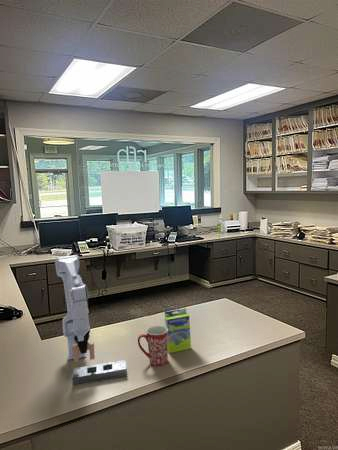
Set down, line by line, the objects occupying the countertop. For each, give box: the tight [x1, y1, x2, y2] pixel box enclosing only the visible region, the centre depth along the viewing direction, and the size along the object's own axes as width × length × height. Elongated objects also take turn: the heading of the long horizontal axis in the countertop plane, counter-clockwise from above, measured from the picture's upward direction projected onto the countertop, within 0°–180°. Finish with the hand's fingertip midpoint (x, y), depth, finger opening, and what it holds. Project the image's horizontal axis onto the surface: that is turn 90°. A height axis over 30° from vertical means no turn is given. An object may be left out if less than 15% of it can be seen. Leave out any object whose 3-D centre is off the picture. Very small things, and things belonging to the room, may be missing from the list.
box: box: [164, 307, 192, 354], centre depth 144 cm, size 11×4×17 cm, turn 108°
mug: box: [137, 325, 169, 367], centre depth 135 cm, size 13×9×14 cm
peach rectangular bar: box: [72, 341, 96, 363], centre depth 128 cm, size 2×8×6 cm, turn 101°
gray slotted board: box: [71, 359, 128, 386], centre depth 128 cm, size 7×20×3 cm, turn 102°
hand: (83, 351), depth 128 cm, fingers closed on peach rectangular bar, 2 cm apart
